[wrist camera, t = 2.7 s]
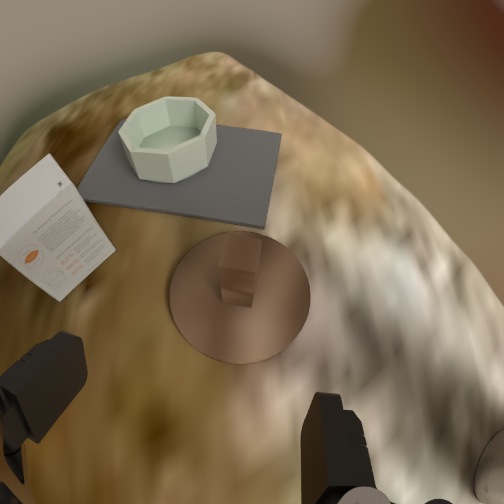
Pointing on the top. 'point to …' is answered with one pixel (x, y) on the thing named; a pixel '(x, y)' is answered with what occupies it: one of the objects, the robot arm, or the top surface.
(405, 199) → the top surface
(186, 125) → the bowl
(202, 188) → the mat
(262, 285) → the lid
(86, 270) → the small box
